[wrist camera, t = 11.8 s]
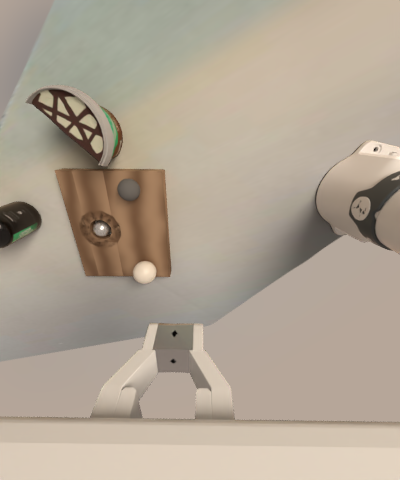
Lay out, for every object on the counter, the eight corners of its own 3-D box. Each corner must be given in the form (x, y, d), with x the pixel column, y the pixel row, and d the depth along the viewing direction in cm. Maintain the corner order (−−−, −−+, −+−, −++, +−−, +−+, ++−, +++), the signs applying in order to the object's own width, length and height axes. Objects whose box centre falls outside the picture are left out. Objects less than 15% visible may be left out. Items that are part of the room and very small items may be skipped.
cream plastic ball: (157, 256, 46) (152, 269, 42) (159, 274, 49) (154, 288, 44) (135, 256, 46) (128, 269, 42) (138, 274, 49) (131, 288, 44)
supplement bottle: (49, 222, 46) (2, 249, 35) (26, 234, 47) (-25, 263, 36) (25, 195, 43) (-34, 214, 32) (2, 209, 44) (-62, 232, 34)
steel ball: (109, 222, 43) (90, 225, 41) (112, 237, 44) (94, 240, 43) (109, 217, 45) (91, 219, 44) (112, 231, 47) (95, 233, 46)
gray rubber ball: (141, 176, 39) (135, 180, 35) (143, 197, 40) (138, 203, 37) (120, 176, 39) (111, 180, 35) (123, 197, 40) (116, 203, 37)
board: (164, 169, 40) (162, 171, 38) (171, 270, 51) (169, 276, 49) (63, 168, 40) (54, 170, 38) (91, 269, 51) (86, 275, 49)
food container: (143, 135, 38) (125, 135, 29) (124, 161, 40) (101, 168, 31) (84, 76, 34) (42, 55, 25) (65, 108, 36) (20, 98, 27)
